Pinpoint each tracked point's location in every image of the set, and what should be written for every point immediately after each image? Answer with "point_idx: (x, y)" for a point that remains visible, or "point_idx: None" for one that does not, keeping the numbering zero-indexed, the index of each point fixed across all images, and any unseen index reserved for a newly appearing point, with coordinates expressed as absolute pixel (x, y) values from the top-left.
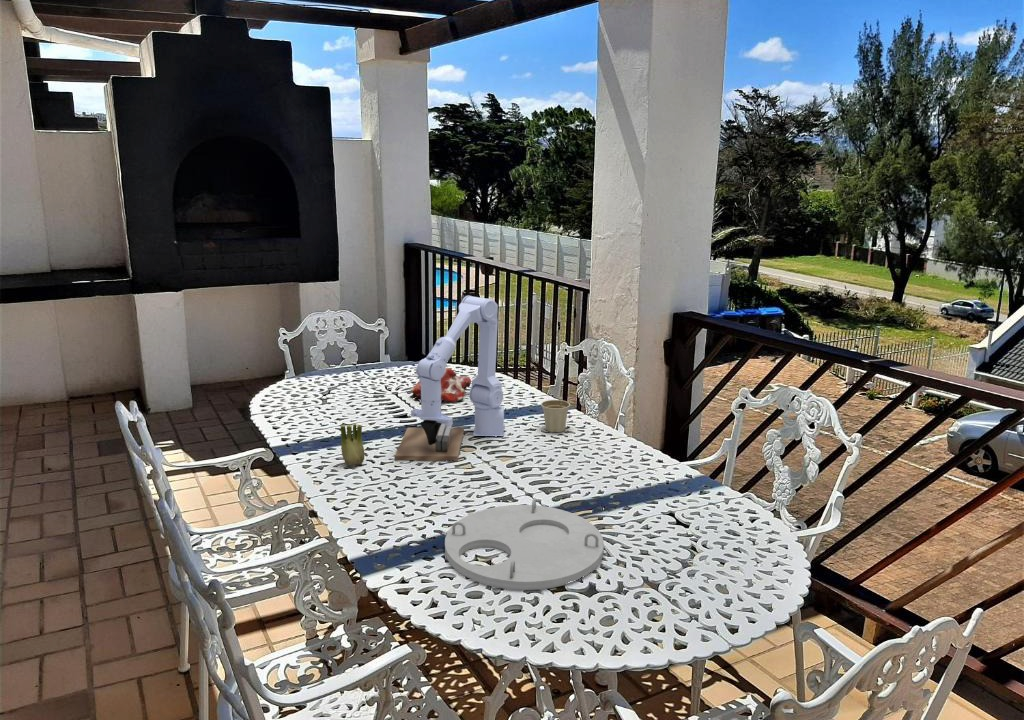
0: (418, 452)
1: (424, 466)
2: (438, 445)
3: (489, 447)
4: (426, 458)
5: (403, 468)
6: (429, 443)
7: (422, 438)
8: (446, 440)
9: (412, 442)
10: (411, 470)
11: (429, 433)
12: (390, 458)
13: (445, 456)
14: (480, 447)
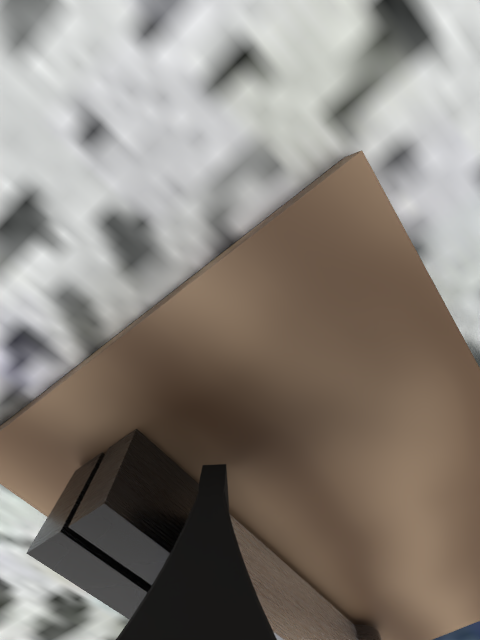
0: (236, 346)
1: (60, 231)
2: (100, 480)
3: (60, 620)
4: (134, 325)
5: (148, 66)
6: (212, 472)
7: (398, 524)
8: (53, 564)
9: (415, 449)
10: (57, 81)
11: (169, 577)
12: (409, 173)
13: (22, 413)
14: (90, 602)
